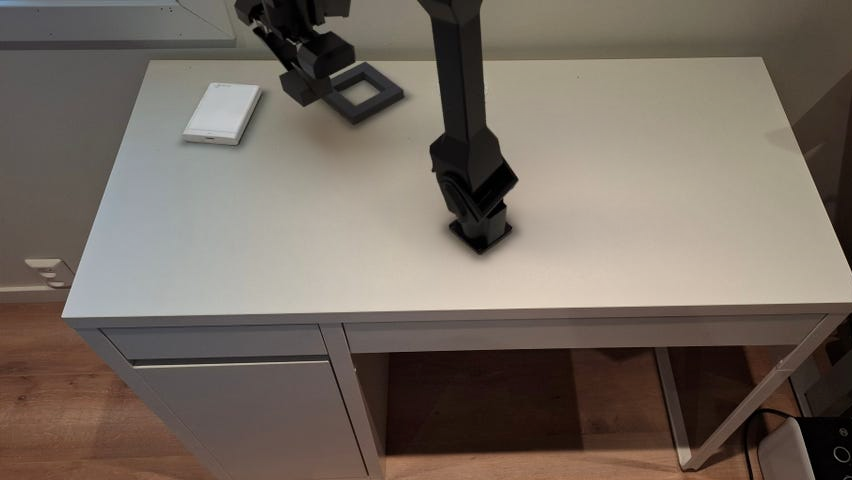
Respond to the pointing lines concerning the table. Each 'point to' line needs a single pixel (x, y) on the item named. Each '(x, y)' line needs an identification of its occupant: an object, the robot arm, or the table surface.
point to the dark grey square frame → (371, 105)
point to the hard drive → (222, 114)
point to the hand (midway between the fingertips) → (307, 85)
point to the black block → (302, 88)
